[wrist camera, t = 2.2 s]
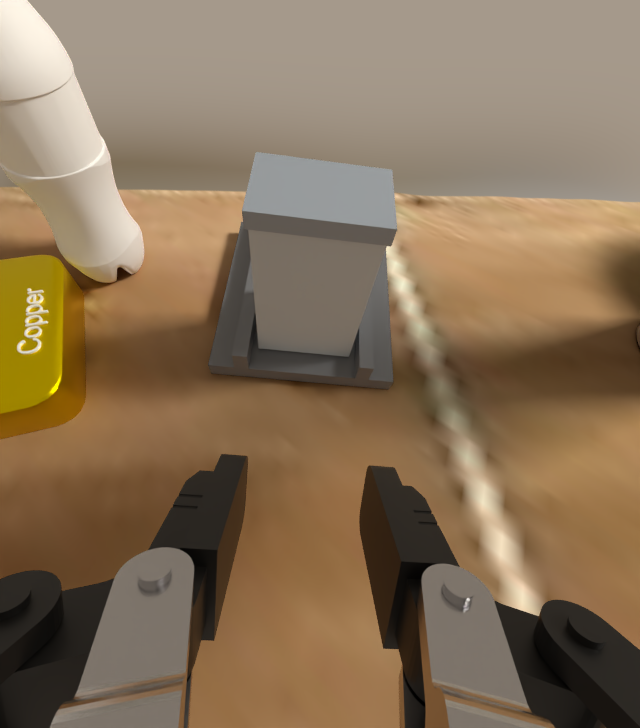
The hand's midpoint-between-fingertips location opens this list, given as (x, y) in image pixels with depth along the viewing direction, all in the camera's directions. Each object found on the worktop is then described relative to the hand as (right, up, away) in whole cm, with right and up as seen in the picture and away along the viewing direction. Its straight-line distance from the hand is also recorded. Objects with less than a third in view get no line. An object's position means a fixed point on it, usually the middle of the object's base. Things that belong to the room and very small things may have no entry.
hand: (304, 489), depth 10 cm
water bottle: (-21, +14, +26) cm, 36 cm away
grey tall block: (-1, +7, +23) cm, 24 cm away
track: (-1, +10, +26) cm, 28 cm away
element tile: (-28, +4, +20) cm, 35 cm away
